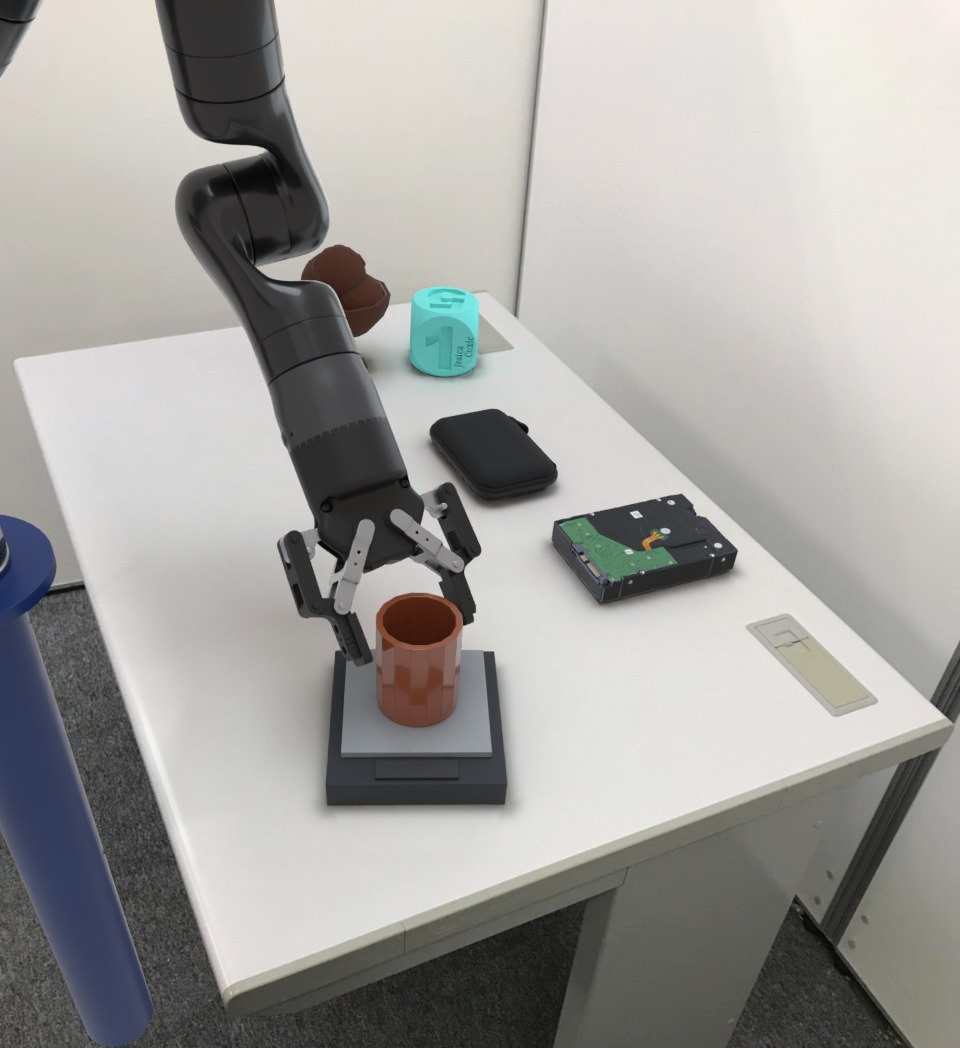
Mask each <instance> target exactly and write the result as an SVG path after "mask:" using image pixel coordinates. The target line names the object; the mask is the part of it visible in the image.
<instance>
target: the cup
mask: <svg viewBox="0 0 960 1048" xmlns="http://www.w3.org/2000/svg"><path fill="white" fill-rule="evenodd" d="M463 631H464V626H463V619H462V614H461V613H460V611H459V610H458V608H457V607H456V606H455V605H454V604H453V603H451V602H450V601H448V600H447V599H445V598H444V596H440V595H437V594H433V593H429V592H408V593H403V594H400V595H396V596H394V597H392V598H390V599H389V600H387V601H386V602H384V603H383V604H382V605H381V607H380V608H379V609H378V611H377V613H376V614H375V649H376V696H377V703H378V706H379V709H380V710H381V712H382V713H383V714H384V715H385V716H386V717H387V718H388V719H390V720H391V721H393V722H395V723H397V724H400V725H403V726H407V727H416V728H419V727H428V726H432V725H435V724H438V723H440V722H442V721H444V720H445V719H447V718H448V717H449V716H450V715H451V714H452V713H453V711H454V710H455V708H456V705H457V699H458V692H459V677H460V662H461V650H462V648H463V647H462V645H463V633H464V632H463Z"/></svg>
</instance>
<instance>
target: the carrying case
mask: <svg viewBox="0 0 960 1048" xmlns="http://www.w3.org/2000/svg"><path fill="white" fill-rule="evenodd" d="M428 431H429V433H428V434H429V437H430V440H431V441H432V442H433V443H434V445H435V446H436V447H437V448H438V450H439V451H440V452H441V453H442V455H443V456H444V457H445V458H446V460H447V461H448V462H449V463H450V464H451V466H452V467H453V468H454V469H455V470H456V471H457V473H458V474H459V476H461V478H462V479H463V480H464V481H465V483H466V484H467V485H468V487H470V489H471V490H472V491H473V492H474V493H475V494H476V495H477V496H478V497H479V498H481V499H483V501H487V502H488V501H491V502H492V501H498V500H502V499H507V498H511V497H515V496H520V495H525V494H528V493H533V492H537V491H542V490H546V489H547V488H549V487H550V486H553V484H554V483H556V481H557V480H558V477H559V471H558V467H557V463H555V462H554V461H553V460H552V459H551V458H550V457H549V456H548V455H547V454H546V453H545V451H544V450H543V449H542V448H541V447H540V446H539V445H538V444H537V443H536V442H535V441H534V440H533V439H532V438H531V437H530V435H528V434H529V432H530V428H529V426H528V425H527V424H526V423H524V422H521V421H520V420H518V419H516V418H515V417H514V416H512V415H508V414H506V413H505V411H502V410H501V409H499V408H487V409H481V410H476V411H471V412H466V413H460V414H454V415H450V416H444V417H441V418H439V419H437V420H436V421H435V422H434V423H432V425H431V426H430V428H429V430H428Z"/></svg>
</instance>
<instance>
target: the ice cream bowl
mask: <svg viewBox="0 0 960 1048" xmlns="http://www.w3.org/2000/svg"><path fill="white" fill-rule="evenodd" d="M366 267H367V265H366V261H365V259H364V258H363V257H362V255H361V254H360V253H358V252H356V251H355V250H354V249H353V248H351V247H349V246H346V245H344V244H334V245H332V246H328V247H325V248H324V249H323V250H322V251H321V252H319V253H318V254H316V255H314V256H313V257H312V258H311V259H309V260H308V261H307V262H306V264H305V266H304V267H303V269H302V272H301V275H300V280H310V281H319V282H323V283H325V284H327V285H329V286H330V287H331V288H332V289H333V290H334V291H335V293H336V294H337V296H338V298H339V300H340V303H341V305H342V308H343V310H344V313H345V316H346V319H347V321H348V324H349V326H350V329H351V332H352V334H353V337H354V339H355V338H358V337H361V336H364V335H365V334H367V333H368V332H369V331H370V330H372V329H373V327H374V326H376V324H377V323H379V321H380V320H382V319H383V318H384V316H385V314H386V313H387V310H388V308H389V305H390V301H391V293H390V291H389V288H388V287H387V285H386V283H385V282H384V281H382V280H379V279H377V278H375V277H373V276H372V275H370V274H368V273H367V270H366ZM361 358H362V361H363V363H364V365H365V367H366V369H367V370H368V365H367V362H366V360H365V357H363V356H361Z"/></svg>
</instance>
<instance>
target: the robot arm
mask: <svg viewBox="0 0 960 1048" xmlns="http://www.w3.org/2000/svg"><path fill="white" fill-rule="evenodd" d="M44 2H45V0H0V81H1V80H2V79H3V77H4V76H5V74H6V73H7V71H8V70H9V68H10V66H11V64H12V63H13V61H14V59H15V58H16V55H17V54H18V52H19V49H20V48H21V46H22V44H23V42H24V40H25V38H26V37H27V35H28V33H29V31H30V30H31V27H32V25H33V23H34V21H35V20H36V18H37V16H38V14H39V12H40V10H41V8H42V6H43V4H44ZM154 4H155V9H156V14H157V20H158V24H159V29H160V34H161V37H162V42H163V46H164V51H165V54H166V55H165V56H166V59H167V65H168V69H169V73H170V76H171V80H172V83H173V84H172V85H173V89H174V93H175V98H176V101H177V105H178V106H177V107H178V109H179V112H180V115H181V118H182V120H183V122H184V124H185V125H186V127H187V128H188V130H189V131H190V132H191V133H193V135H195V136H196V137H198V138H200V139H201V140H204V141H207V142H209V143H213V144H220V145H226V146H227V145H229V146H247V147H249V146H251V147H257V148H261V149H264V150H263V152H261V153H258V154H253V155H249V156H246V157H241V158H237V159H233V160H229V161H224V162H221V163H214V164H211V165H206V166H203V167H198V168H196V169H193V170H191V171H189V172H187V173H186V174H185V175H184V176H183V177H182V179H181V180H180V181H179V183H178V186H177V189H176V191H175V195H174V196H175V197H174V215H175V221H176V224H177V226H178V230H179V232H180V234H181V237H182V239H183V240H184V242H185V244H186V246H187V247H188V249H189V251H190V252H191V253H192V255H193V256H194V258H195V260H196V261H197V262H198V263H199V265H200V266H201V267H202V269H203V270H204V272H205V273H206V274H207V275H208V277H209V278H210V279H211V280H212V281H213V283H214V285H215V286H216V287H217V289H218V290H219V292H220V293H221V294H222V296H223V297H224V299H225V300H226V302H227V303H228V305H229V306H230V308H231V309H232V311H233V313H234V314H235V316H236V317H237V319H238V321H239V323H240V324H241V326H242V328H243V330H244V332H245V334H246V336H247V338H248V341H249V343H250V345H251V348H252V351H253V354H254V356H255V358H256V361H257V364H258V367H259V369H260V372H261V374H262V377H263V379H264V383H265V385H266V387H267V390H268V393H269V396H270V400H271V404H272V409H273V413H274V417H275V420H276V424H277V426H278V429H279V431H280V439H281V441H282V444H283V446H284V447H285V449H286V450H287V453H288V456H289V458H290V461H291V463H292V466H293V468H294V471H295V475H296V476H297V479H298V482H299V484H300V488H301V489H302V492H303V495H304V497H305V500H306V502H307V505H308V508H309V510H310V512H311V515H312V516H313V524H314V525H313V528H311V529H307V530H303V531H299V530H296V529H293V530H290V531H288V532H287V533H286V534H284V535H283V536H282V537H280V538H279V539H278V540H277V542H276V547H277V551H278V554H279V557H280V561H281V563H282V568H283V570H284V573H285V575H286V579H287V581H288V583H287V584H288V586H289V589H290V593H291V595H292V599H293V601H294V605H295V608H296V610H297V614H298V615H299V616H300V617H301V618H302V619H312V618H313V619H314V618H315V619H325V620H326V621H328V622H329V624H330V625H331V626H330V627H331V628H332V631H333V633H334V637H335V640H336V641H337V643H338V646H339V648H340V649H339V650H341V652H342V654H343V656H344V658H345V659H346V660H347V661H352V660H353V662H354V664H355V665H356V666H357V667H359V666H363V665H366V664H368V663H371V662H373V657H372V654H371V651H370V649H371V648H370V645H369V643H368V640H367V638H366V635H365V633H364V630H363V628H362V625H361V622H360V619H359V617H358V614H357V612H356V611H354V612H352V611H351V609H352V604H353V601H354V598H355V593H356V590H357V587H358V585H359V583H360V581H361V579H362V575H365V574H368V573H370V572H374V571H375V570H378V569H380V568H381V567H383V566H385V565H387V566H388V565H393V564H397V563H399V562H402V561H404V560H406V559H408V558H409V559H410V560H411V561H413V562H414V563H417V564H420V565H423V566H424V567H426V568H427V569H429V571H432V572H433V573H434V574H435V575H437V576H438V577H440V578H441V581H438V582H437V583H438V586H439V589H440V591H441V593H442V597H443V598H445V599H447V600H448V601H450V602H451V603H453V604H454V605H455V606H456V607H457V608H458V610H459V611H460V613H461V614H462V619H463V627H465V626H468V625H470V624H474V622H475V617H474V615H475V614H476V613H477V605H476V602H475V599H474V597H473V594H472V591H471V589H470V586H469V582H468V580H467V577H466V574H465V570H466V567H467V566H468V565H469V564H470V563H471V562H472V561H473V560H474V559H475V558H478V557H479V556H480V555H481V554H482V547H481V544H480V542H479V539H478V536H477V535H476V532H475V530H474V528H473V525H472V523H471V520H470V519H469V516H468V514H467V511H466V509H465V506H464V504H463V503H462V500H461V497H460V495H459V493H458V490H457V488H456V485H454V484H453V483H452V482H450V481H446V482H444V483H441V484H439V485H438V486H435V487H434V488H433V489H431V490H428V491H427V492H425V493H422V494H419V493H418V492H416V490H415V489H414V488H413V487H412V485H411V481H410V477H409V474H408V469H407V466H406V464H405V461H404V459H403V456H402V453H401V450H400V448H399V445H398V442H397V440H396V437H395V435H394V433H393V429H392V427H391V423H390V421H389V419H388V416H387V413H386V410H385V408H384V405H383V402H382V400H381V397H380V394H379V392H378V389H377V387H376V384H375V381H374V380H373V378H372V376H371V375H370V372H369V370H368V368H367V369H366V367H365V365H364V363H363V361H362V358H361V357H362V356H361V353H360V350H359V348H358V345H357V343H356V340H355V338H354V337H353V334H352V332H351V329H350V326H349V324H348V321H347V319H346V316H345V313H344V310H343V308H342V305H341V303H340V300H339V298H338V296H337V294H336V293H335V291H334V290H333V289H332V288H331V287H330V286H329V285H327V284H325V283H323V282H319V281H310V280H301V279H300V280H299V279H298V280H297V279H295V280H292V279H291V280H289V279H277V278H272V277H270V276H268V275H266V273H264V272H262V271H261V270H260V269H259V267H264V266H267V265H271V264H275V263H278V262H282V261H285V260H290V259H294V258H297V257H302V256H304V255H309V254H311V253H312V252H315V251H316V250H318V249H319V248H320V247H321V246H322V244H323V243H324V241H325V239H326V237H327V235H328V233H329V230H330V226H331V218H332V215H331V206H330V201H329V197H328V195H327V192H326V190H325V187H324V183H323V182H322V180H321V177H320V175H319V173H318V171H317V168H316V166H315V165H314V162H313V160H312V157H311V155H310V154H309V152H308V151H309V150H308V149H307V147H306V144H305V142H304V140H303V136H302V134H301V130H300V128H299V125H298V122H297V120H296V116H295V113H294V109H293V105H292V102H291V98H290V95H289V90H288V86H287V79H286V72H285V64H284V58H283V50H282V44H281V35H280V29H279V22H278V16H277V10H276V9H277V8H276V4H275V0H154ZM425 511H427V512H428V514H429V516H430V517H431V518H433V519H436V520H437V522H438V524H439V527H440V530H441V531H442V534H443V536H444V538H445V540H446V543H447V545H448V547H449V548H448V547H447V546H445V545H444V543H443V541H442V540H441V539H440V538H439V537H438V536H436V535H434V534H433V533H431V531H429V530H427V529H426V528H425V527H423V526H422V521H423V517H424V513H425ZM316 545H318V546H319V547H320V548H322V549H323V550H325V551H326V552H327V553H329V554H330V555H331V556H333V557H334V558H335V560H334V564H333V567H332V571H331V574H330V578H329V583H328V584H329V588H328V592H327V596H326V597H323V596H322V592H321V590H320V586H319V584H318V583H319V582H318V580H317V577H316V574H315V570H314V567H313V564H312V560H313V559H314V558H315V556H316ZM10 563H11V555H10V551H9V548H8V545H7V543H6V541H5V538H4V535H3V533H2V530H1V527H0V579H1V578H2V577H3V576H4V575H5V573H6V572H7V571H8V569H9V566H10Z"/></svg>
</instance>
